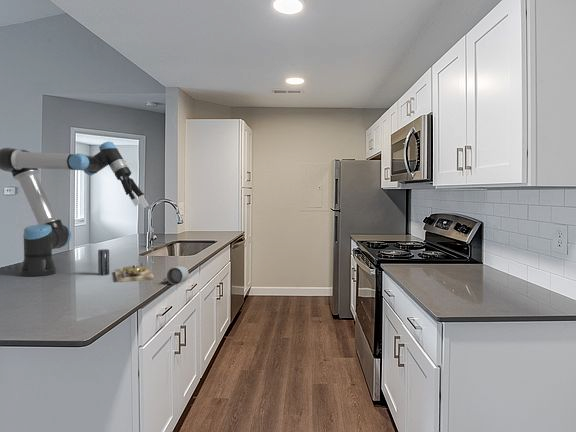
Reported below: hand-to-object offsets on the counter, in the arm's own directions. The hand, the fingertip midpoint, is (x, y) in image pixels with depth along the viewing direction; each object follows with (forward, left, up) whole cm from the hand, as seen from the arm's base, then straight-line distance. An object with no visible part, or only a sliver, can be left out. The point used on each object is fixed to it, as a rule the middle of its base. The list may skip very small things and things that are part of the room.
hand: (142, 205), depth 215 cm
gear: (-5, -17, -32) cm, 37 cm away
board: (-5, -11, -33) cm, 35 cm away
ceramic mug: (+11, -33, -34) cm, 49 cm away
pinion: (-18, -2, -33) cm, 38 cm away
